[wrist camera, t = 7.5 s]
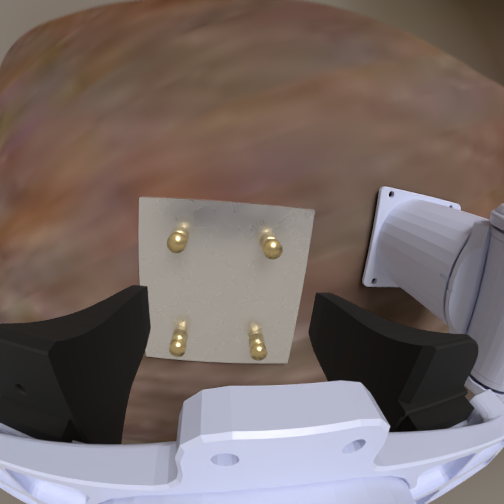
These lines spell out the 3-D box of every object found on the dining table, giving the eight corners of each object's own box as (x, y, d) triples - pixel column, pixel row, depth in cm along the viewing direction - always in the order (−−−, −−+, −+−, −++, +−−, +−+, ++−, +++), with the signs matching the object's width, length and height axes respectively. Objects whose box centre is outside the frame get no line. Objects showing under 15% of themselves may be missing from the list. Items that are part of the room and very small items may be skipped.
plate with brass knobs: (310, 208, 20) (324, 215, 18) (285, 356, 24) (292, 378, 21) (143, 195, 19) (130, 200, 16) (148, 349, 23) (141, 371, 20)
